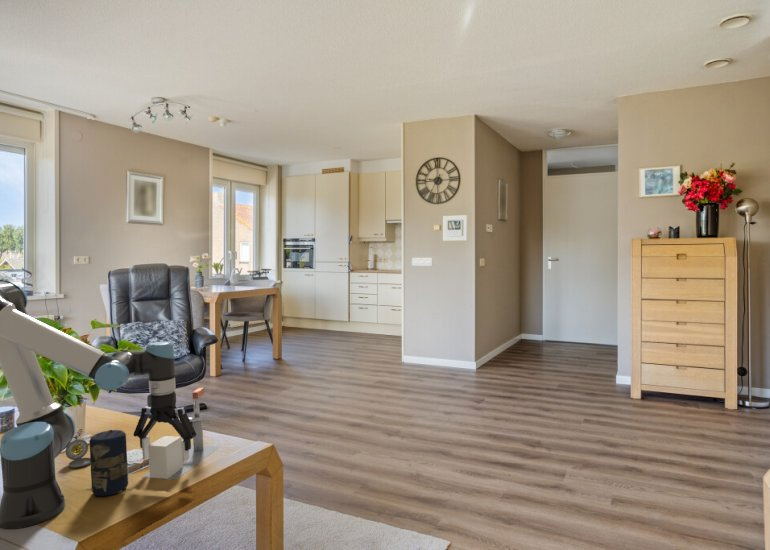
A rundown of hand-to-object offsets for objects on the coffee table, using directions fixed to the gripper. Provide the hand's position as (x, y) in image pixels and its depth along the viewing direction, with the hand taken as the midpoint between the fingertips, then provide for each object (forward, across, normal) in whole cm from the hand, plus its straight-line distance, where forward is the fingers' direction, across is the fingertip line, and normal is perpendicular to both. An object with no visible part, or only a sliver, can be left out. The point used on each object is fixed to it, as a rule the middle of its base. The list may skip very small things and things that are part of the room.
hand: (166, 459), depth 158 cm
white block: (+4, 0, 0) cm, 4 cm away
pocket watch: (+6, -36, +5) cm, 37 cm away
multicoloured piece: (-6, -3, +19) cm, 21 cm away
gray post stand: (+5, 0, +9) cm, 10 cm away
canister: (+6, -11, -11) cm, 17 cm away
